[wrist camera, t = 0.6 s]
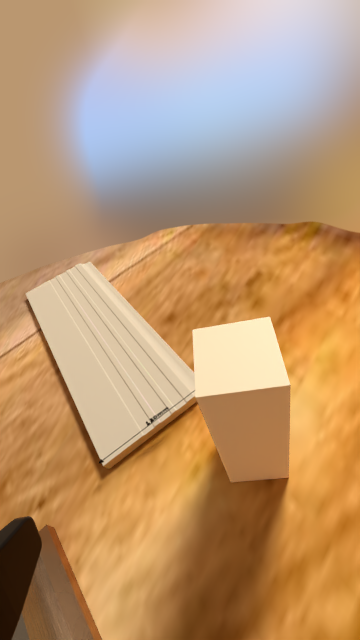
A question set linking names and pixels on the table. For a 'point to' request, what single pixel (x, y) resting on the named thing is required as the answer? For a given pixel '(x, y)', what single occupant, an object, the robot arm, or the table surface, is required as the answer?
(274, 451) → the cream rectangular block
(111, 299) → the baseboard molding
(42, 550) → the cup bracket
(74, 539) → the table surface
